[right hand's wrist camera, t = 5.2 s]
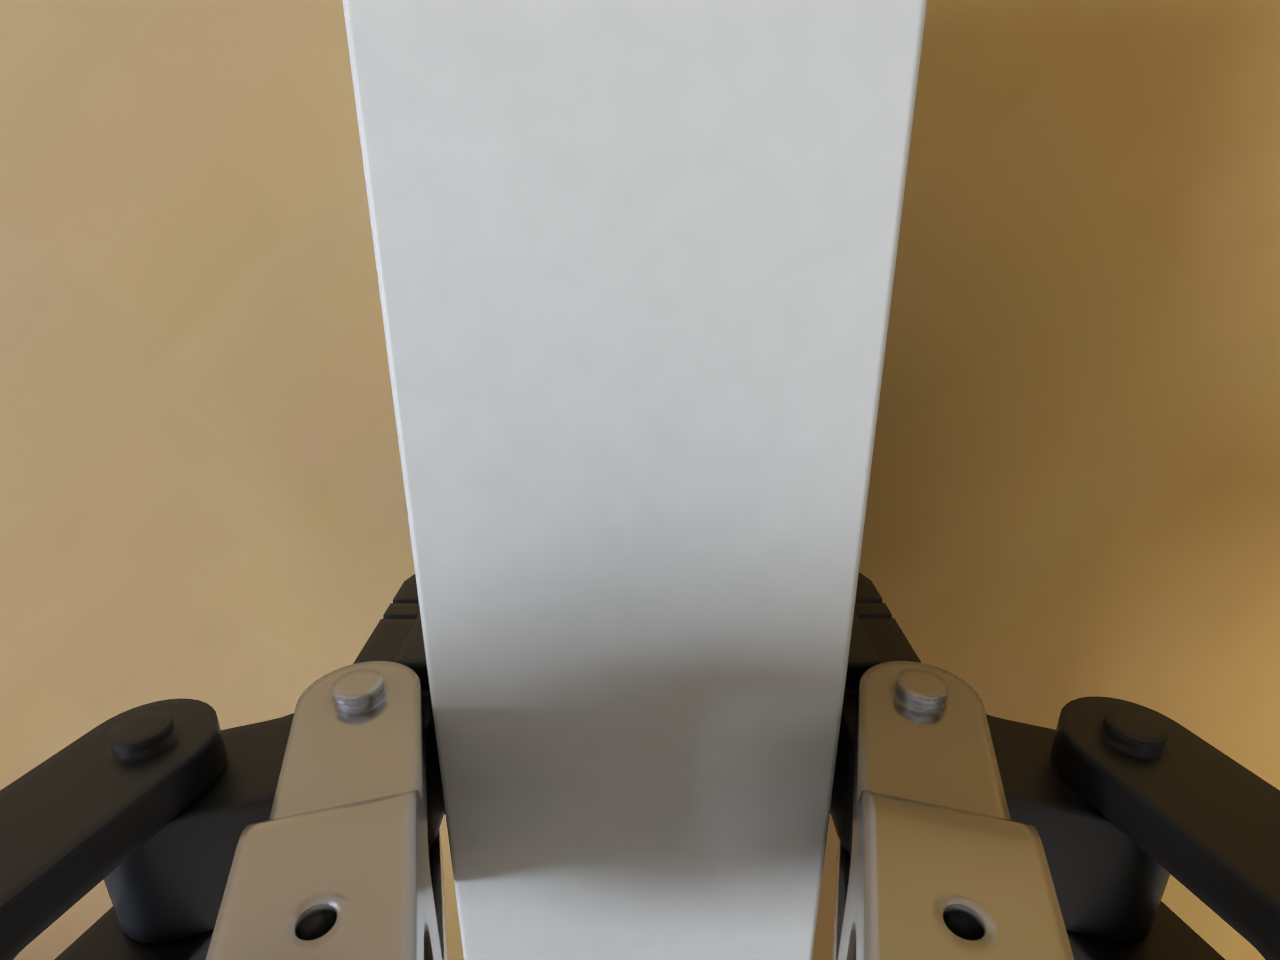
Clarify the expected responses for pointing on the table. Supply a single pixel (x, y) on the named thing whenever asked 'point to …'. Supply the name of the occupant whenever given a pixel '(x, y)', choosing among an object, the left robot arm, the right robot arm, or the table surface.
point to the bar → (636, 439)
